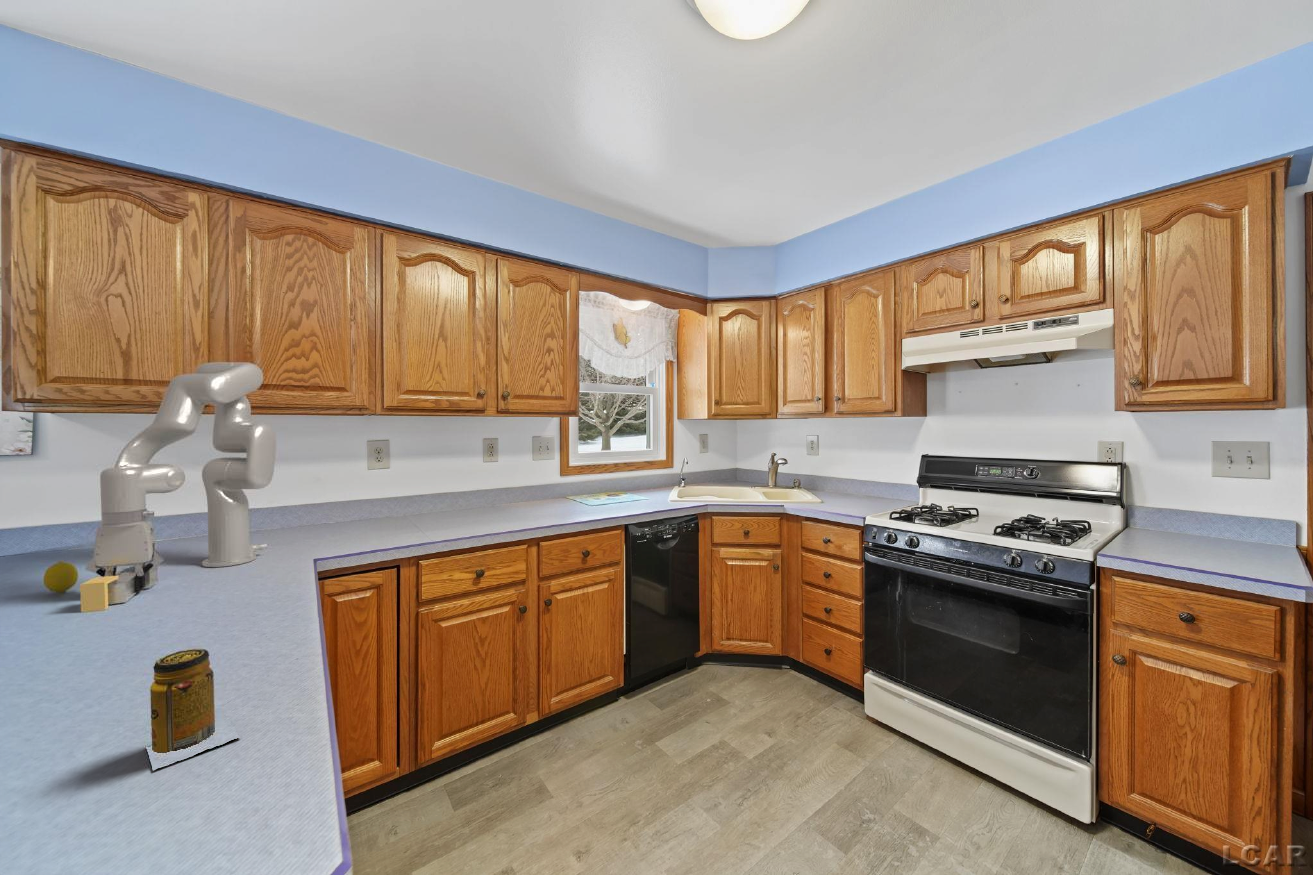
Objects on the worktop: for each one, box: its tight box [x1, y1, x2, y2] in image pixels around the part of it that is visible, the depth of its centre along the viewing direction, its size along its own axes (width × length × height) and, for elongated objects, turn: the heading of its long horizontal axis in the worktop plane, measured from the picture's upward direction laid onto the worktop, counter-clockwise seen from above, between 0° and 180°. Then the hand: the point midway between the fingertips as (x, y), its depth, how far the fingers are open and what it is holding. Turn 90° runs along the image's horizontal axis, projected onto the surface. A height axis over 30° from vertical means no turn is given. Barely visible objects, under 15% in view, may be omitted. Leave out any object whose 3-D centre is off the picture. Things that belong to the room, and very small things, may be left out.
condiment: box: [149, 648, 216, 753], centre depth 67 cm, size 7×8×12 cm
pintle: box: [128, 565, 136, 572], centre depth 130 cm, size 2×2×6 cm
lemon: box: [43, 561, 79, 595], centre depth 126 cm, size 6×6×8 cm
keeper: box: [79, 576, 119, 613], centre depth 117 cm, size 6×4×6 cm
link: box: [107, 565, 159, 605], centre depth 126 cm, size 18×7×4 cm, turn 32°
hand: (126, 592), depth 125 cm, fingers closed on link, 3 cm apart
